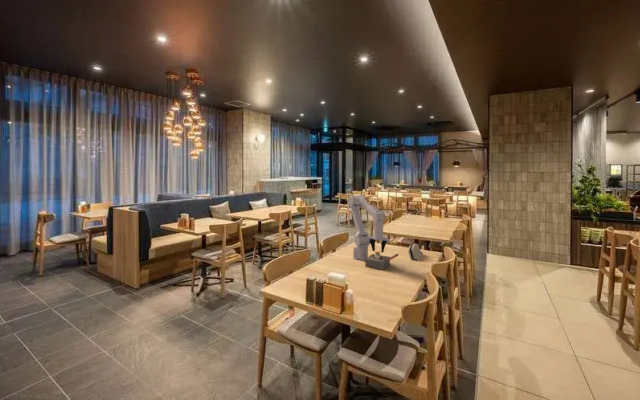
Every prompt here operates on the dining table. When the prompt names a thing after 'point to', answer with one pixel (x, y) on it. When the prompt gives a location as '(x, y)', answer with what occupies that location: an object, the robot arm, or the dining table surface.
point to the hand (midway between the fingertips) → (378, 251)
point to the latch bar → (392, 257)
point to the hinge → (415, 252)
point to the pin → (377, 255)
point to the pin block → (377, 262)
